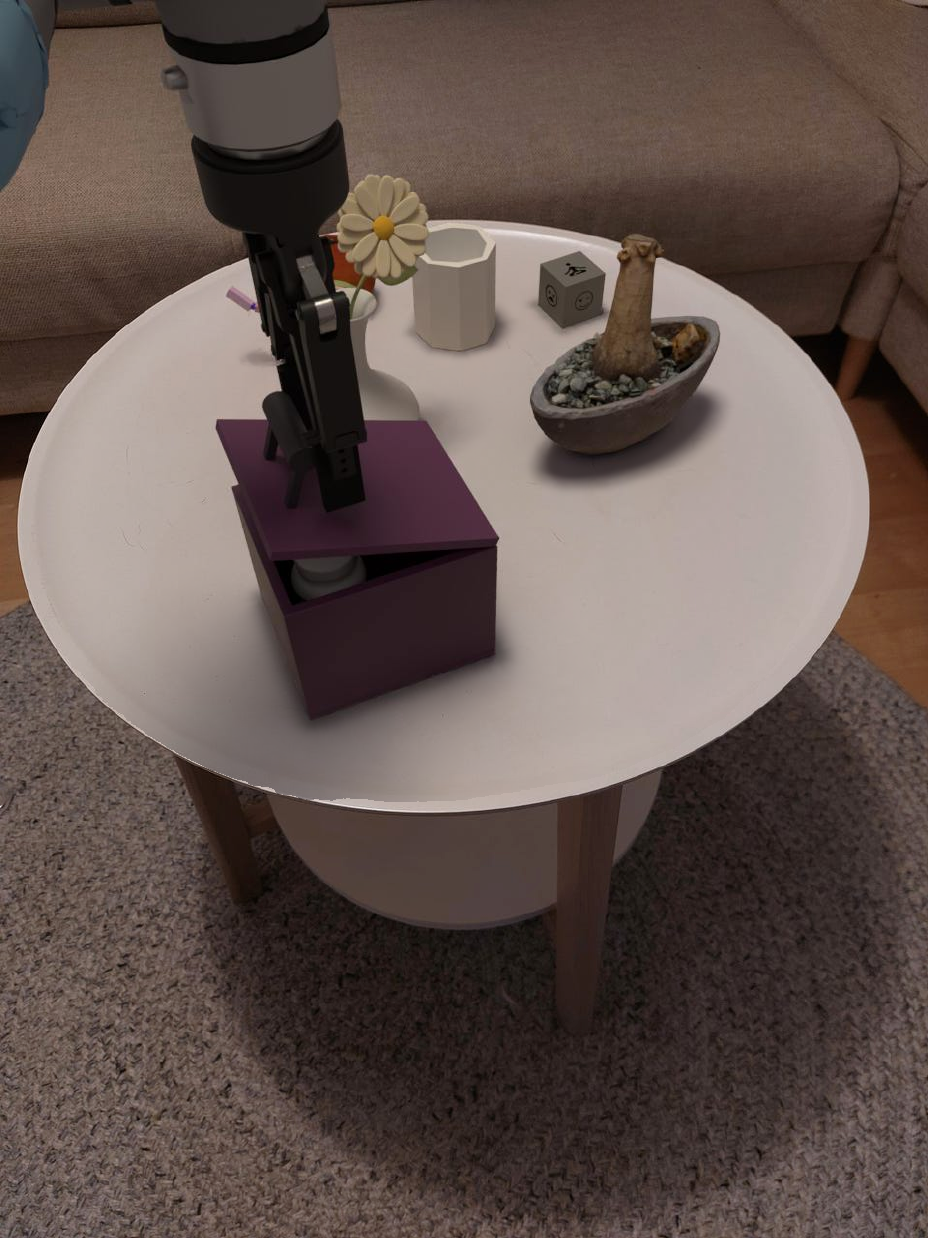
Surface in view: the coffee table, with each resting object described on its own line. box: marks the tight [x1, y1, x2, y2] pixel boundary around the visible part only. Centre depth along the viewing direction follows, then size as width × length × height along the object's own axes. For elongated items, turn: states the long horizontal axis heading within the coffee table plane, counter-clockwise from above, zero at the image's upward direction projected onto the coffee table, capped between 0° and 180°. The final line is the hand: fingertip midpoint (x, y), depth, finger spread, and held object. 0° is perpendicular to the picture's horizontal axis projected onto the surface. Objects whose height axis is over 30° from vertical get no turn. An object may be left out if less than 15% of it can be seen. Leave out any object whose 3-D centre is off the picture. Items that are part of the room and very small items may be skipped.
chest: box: [230, 483, 498, 721], centre depth 76 cm, size 16×14×13 cm
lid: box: [214, 390, 500, 561], centre depth 66 cm, size 16×14×6 cm
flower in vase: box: [334, 173, 429, 420], centre depth 86 cm, size 13×11×25 cm
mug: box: [411, 221, 497, 352], centre depth 103 cm, size 12×9×10 cm
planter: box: [529, 233, 721, 455], centre depth 87 cm, size 15×17×20 cm
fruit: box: [319, 234, 377, 295], centre depth 106 cm, size 9×9×8 cm
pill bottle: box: [291, 555, 368, 604], centre depth 75 cm, size 6×6×10 cm
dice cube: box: [537, 250, 607, 329], centre depth 105 cm, size 5×5×5 cm
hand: (328, 469), depth 66 cm, fingers closed on lid, 6 cm apart
